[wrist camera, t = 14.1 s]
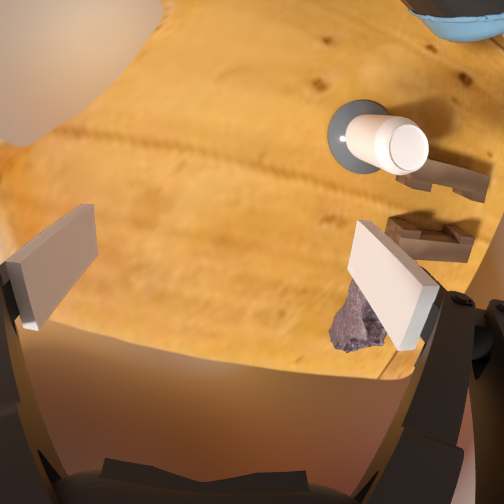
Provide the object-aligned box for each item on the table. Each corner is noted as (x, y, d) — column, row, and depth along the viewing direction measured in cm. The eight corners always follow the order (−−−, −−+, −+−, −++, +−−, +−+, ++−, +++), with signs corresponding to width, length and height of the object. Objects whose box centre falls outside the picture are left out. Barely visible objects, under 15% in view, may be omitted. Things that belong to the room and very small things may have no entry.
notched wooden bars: (400, 151, 40) (418, 157, 35) (470, 169, 41) (489, 176, 36) (382, 244, 45) (396, 258, 41) (450, 249, 47) (467, 262, 42)
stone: (396, 285, 37) (336, 374, 42) (426, 297, 38) (368, 379, 43) (362, 251, 46) (316, 330, 51) (391, 263, 48) (346, 337, 53)
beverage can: (336, 121, 38) (373, 127, 27) (377, 108, 37) (425, 111, 26) (351, 166, 40) (391, 187, 29) (390, 151, 39) (439, 168, 28)
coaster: (331, 93, 37) (332, 93, 36) (399, 108, 37) (401, 108, 37) (323, 168, 41) (324, 168, 40) (389, 177, 41) (391, 178, 41)
